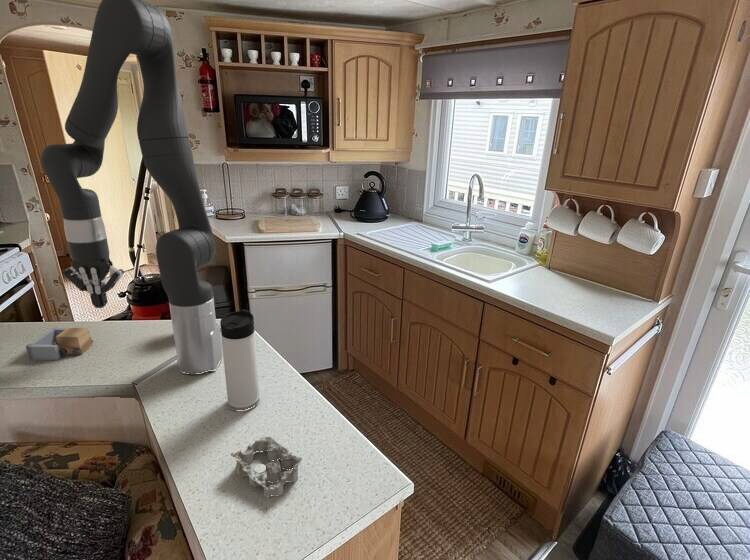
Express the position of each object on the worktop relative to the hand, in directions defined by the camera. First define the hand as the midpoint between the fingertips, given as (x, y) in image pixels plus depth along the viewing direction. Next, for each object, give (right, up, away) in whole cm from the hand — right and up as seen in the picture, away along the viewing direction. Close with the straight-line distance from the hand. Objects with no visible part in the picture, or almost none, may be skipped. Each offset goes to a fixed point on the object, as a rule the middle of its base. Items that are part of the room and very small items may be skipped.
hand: (100, 306), depth 100 cm
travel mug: (+38, -19, -12) cm, 45 cm away
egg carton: (+48, -27, -29) cm, 62 cm away
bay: (-13, -11, +4) cm, 17 cm away
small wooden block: (-8, -11, +4) cm, 14 cm away
